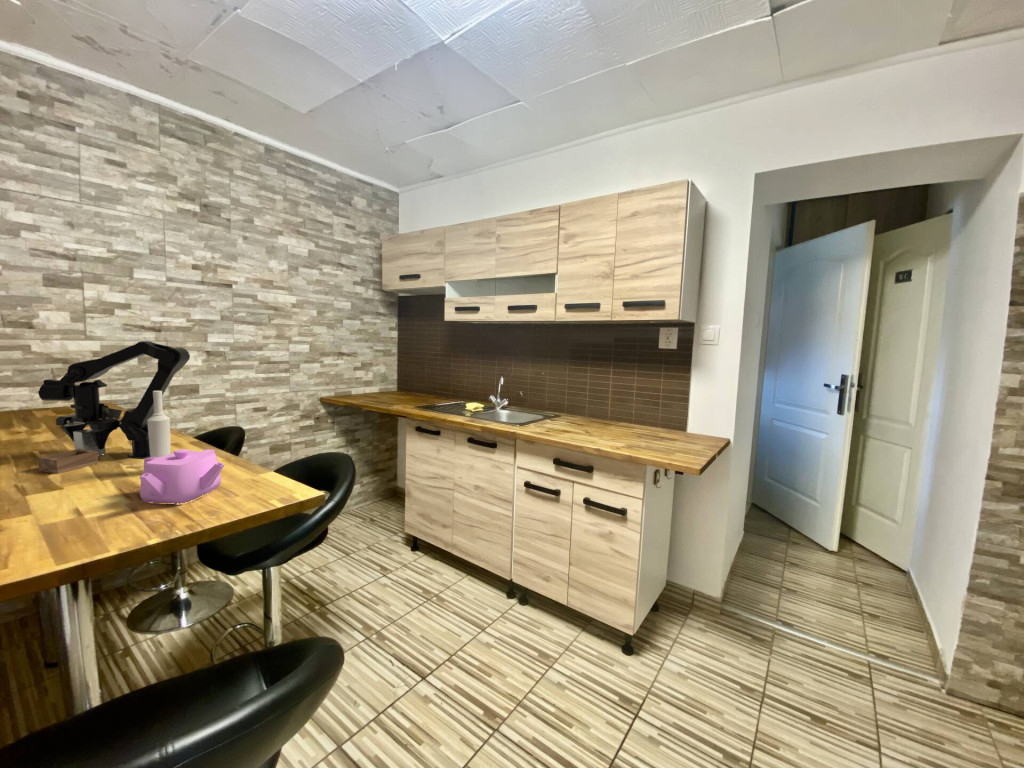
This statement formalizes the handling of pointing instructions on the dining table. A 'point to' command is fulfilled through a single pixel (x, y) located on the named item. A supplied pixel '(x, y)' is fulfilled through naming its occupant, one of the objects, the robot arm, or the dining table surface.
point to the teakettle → (180, 476)
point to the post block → (67, 461)
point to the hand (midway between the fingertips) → (90, 447)
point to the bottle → (159, 429)
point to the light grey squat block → (86, 441)
